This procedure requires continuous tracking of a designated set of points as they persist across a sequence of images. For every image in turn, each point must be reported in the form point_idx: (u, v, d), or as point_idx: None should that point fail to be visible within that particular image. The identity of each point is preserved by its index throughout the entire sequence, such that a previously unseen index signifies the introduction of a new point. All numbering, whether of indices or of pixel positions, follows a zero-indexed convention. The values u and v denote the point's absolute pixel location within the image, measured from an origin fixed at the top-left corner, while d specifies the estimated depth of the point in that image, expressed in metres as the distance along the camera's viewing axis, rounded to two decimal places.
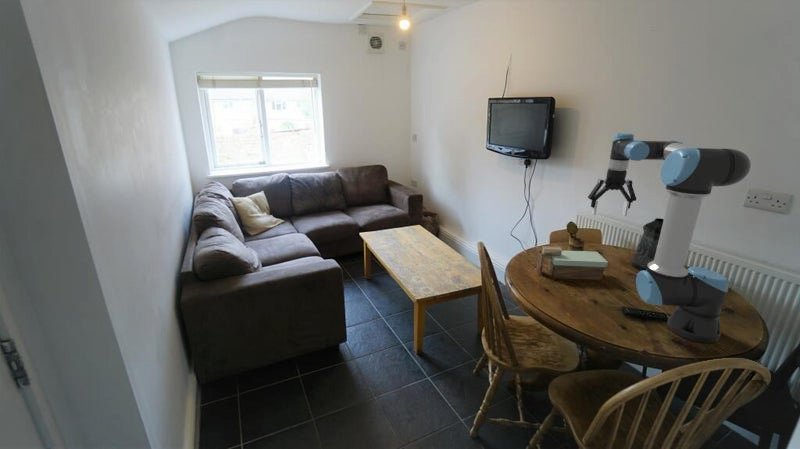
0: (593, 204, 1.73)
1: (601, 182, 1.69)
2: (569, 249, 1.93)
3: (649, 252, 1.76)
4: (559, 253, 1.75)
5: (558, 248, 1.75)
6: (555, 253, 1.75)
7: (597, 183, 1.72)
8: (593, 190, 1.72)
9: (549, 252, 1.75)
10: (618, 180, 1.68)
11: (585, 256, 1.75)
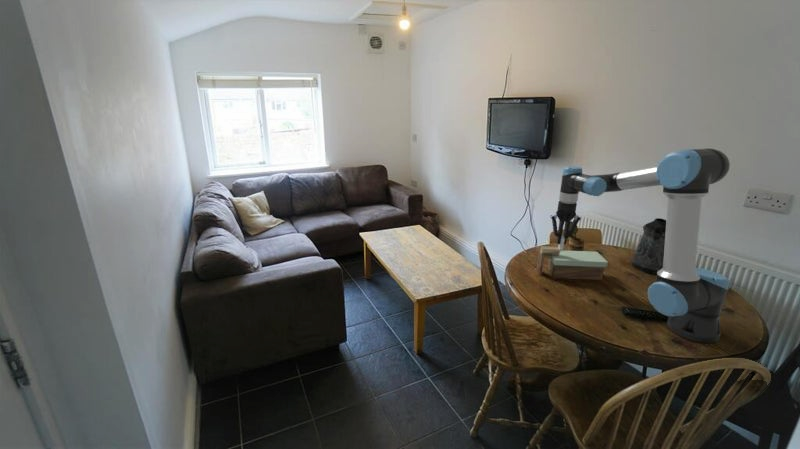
0: (559, 241, 1.74)
1: (553, 218, 1.70)
2: (569, 249, 1.93)
3: (649, 252, 1.76)
4: (557, 253, 1.75)
5: (556, 248, 1.75)
6: (553, 252, 1.75)
7: (552, 219, 1.73)
8: (553, 227, 1.73)
9: (547, 252, 1.75)
10: None
11: (585, 256, 1.75)
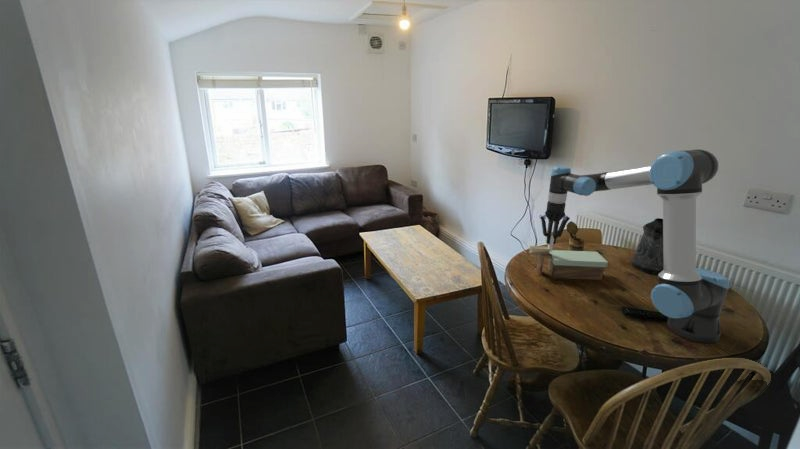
0: (548, 241, 1.74)
1: (542, 218, 1.70)
2: (569, 249, 1.93)
3: (649, 252, 1.76)
4: (546, 253, 1.75)
5: (545, 248, 1.76)
6: (542, 252, 1.75)
7: (541, 219, 1.73)
8: (542, 227, 1.73)
9: (536, 252, 1.75)
10: None
11: (585, 256, 1.75)
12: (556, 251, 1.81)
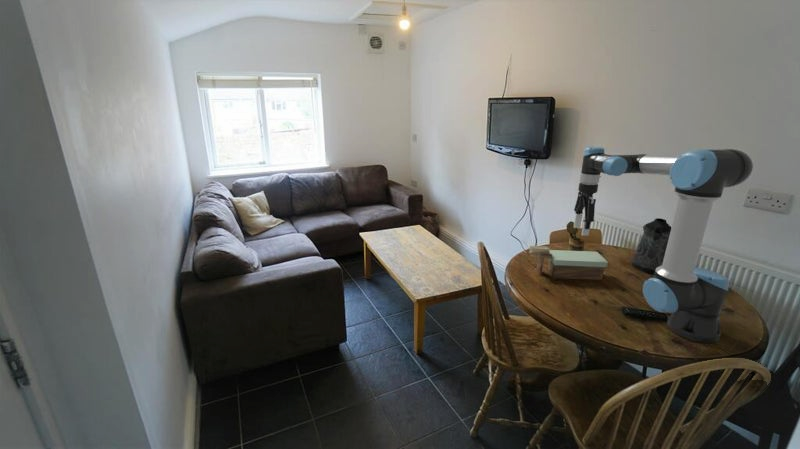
0: None
1: (578, 194, 1.73)
2: (569, 249, 1.93)
3: (649, 252, 1.76)
4: (546, 253, 1.75)
5: (545, 248, 1.76)
6: (542, 252, 1.75)
7: None
8: (579, 202, 1.75)
9: (536, 252, 1.75)
10: (585, 193, 1.65)
11: (585, 256, 1.75)
12: (556, 251, 1.81)
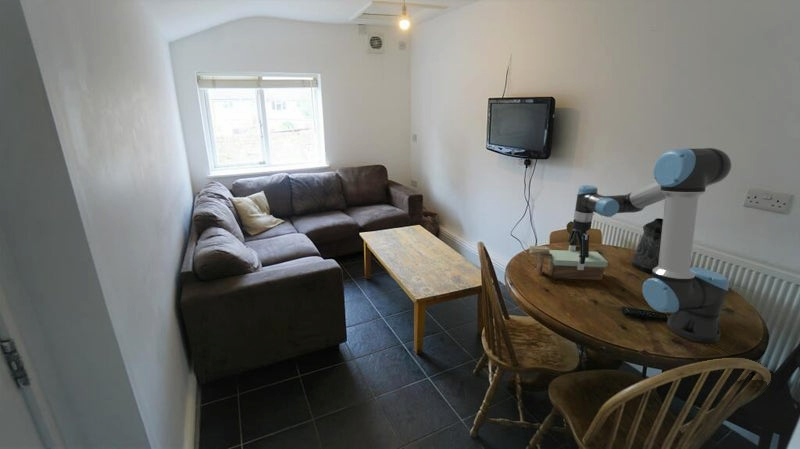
0: None
1: (572, 228, 1.78)
2: None
3: (649, 252, 1.76)
4: (546, 253, 1.75)
5: (545, 248, 1.76)
6: (542, 252, 1.75)
7: None
8: (573, 235, 1.81)
9: (536, 252, 1.75)
10: (579, 230, 1.71)
11: None
12: (556, 251, 1.81)
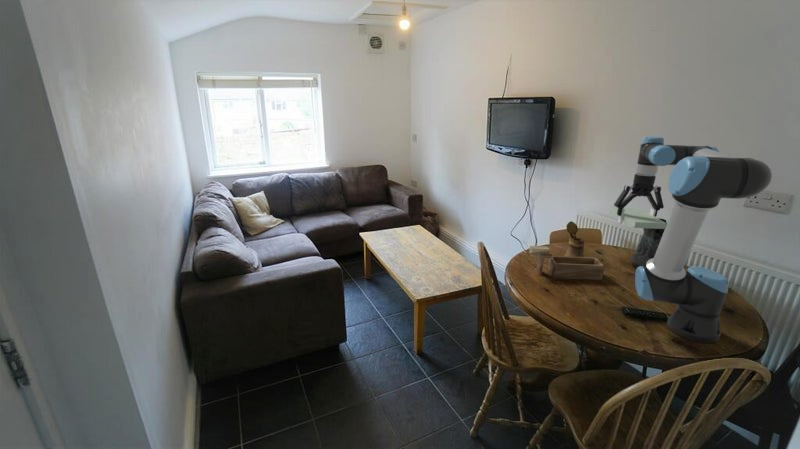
0: (620, 212, 1.64)
1: (628, 188, 1.60)
2: (569, 249, 1.93)
3: (649, 252, 1.76)
4: (546, 253, 1.75)
5: (545, 248, 1.76)
6: (542, 252, 1.75)
7: None
8: (619, 197, 1.63)
9: (536, 252, 1.75)
10: (646, 186, 1.59)
11: (633, 211, 1.68)
12: (635, 219, 1.57)
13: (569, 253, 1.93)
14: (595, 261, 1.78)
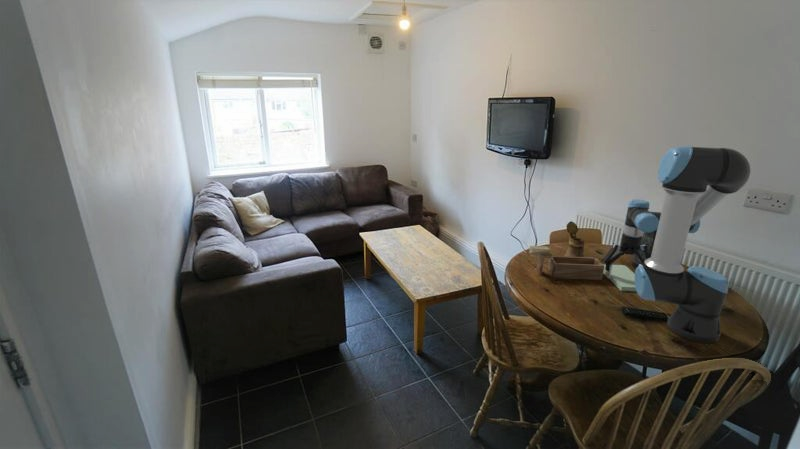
0: (607, 267, 1.73)
1: (616, 247, 1.69)
2: (569, 249, 1.93)
3: (649, 252, 1.76)
4: (546, 253, 1.75)
5: (545, 248, 1.76)
6: (542, 252, 1.75)
7: (612, 247, 1.71)
8: (608, 254, 1.71)
9: (536, 252, 1.75)
10: (633, 245, 1.68)
11: (620, 271, 1.77)
12: (621, 282, 1.67)
13: (569, 253, 1.93)
14: (595, 261, 1.78)
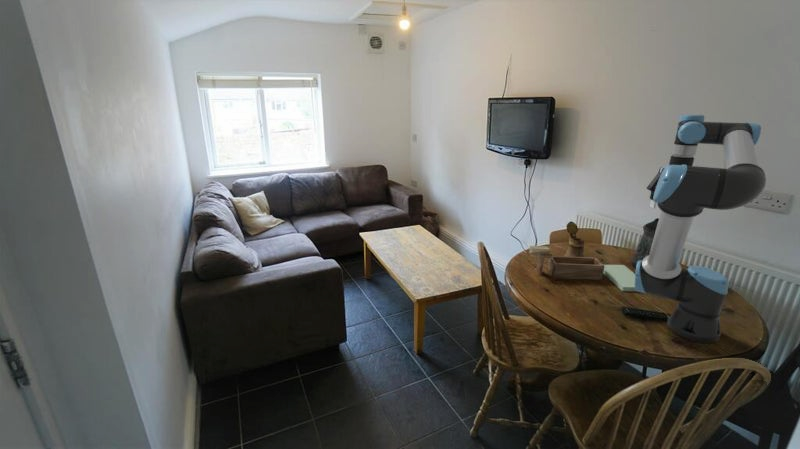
0: (653, 196, 1.53)
1: None
2: (569, 249, 1.93)
3: (649, 252, 1.76)
4: (546, 253, 1.75)
5: (545, 248, 1.76)
6: (542, 252, 1.75)
7: (658, 172, 1.51)
8: (653, 180, 1.52)
9: (536, 252, 1.75)
10: None
11: (620, 271, 1.77)
12: (622, 283, 1.67)
13: (569, 253, 1.93)
14: (595, 261, 1.78)
